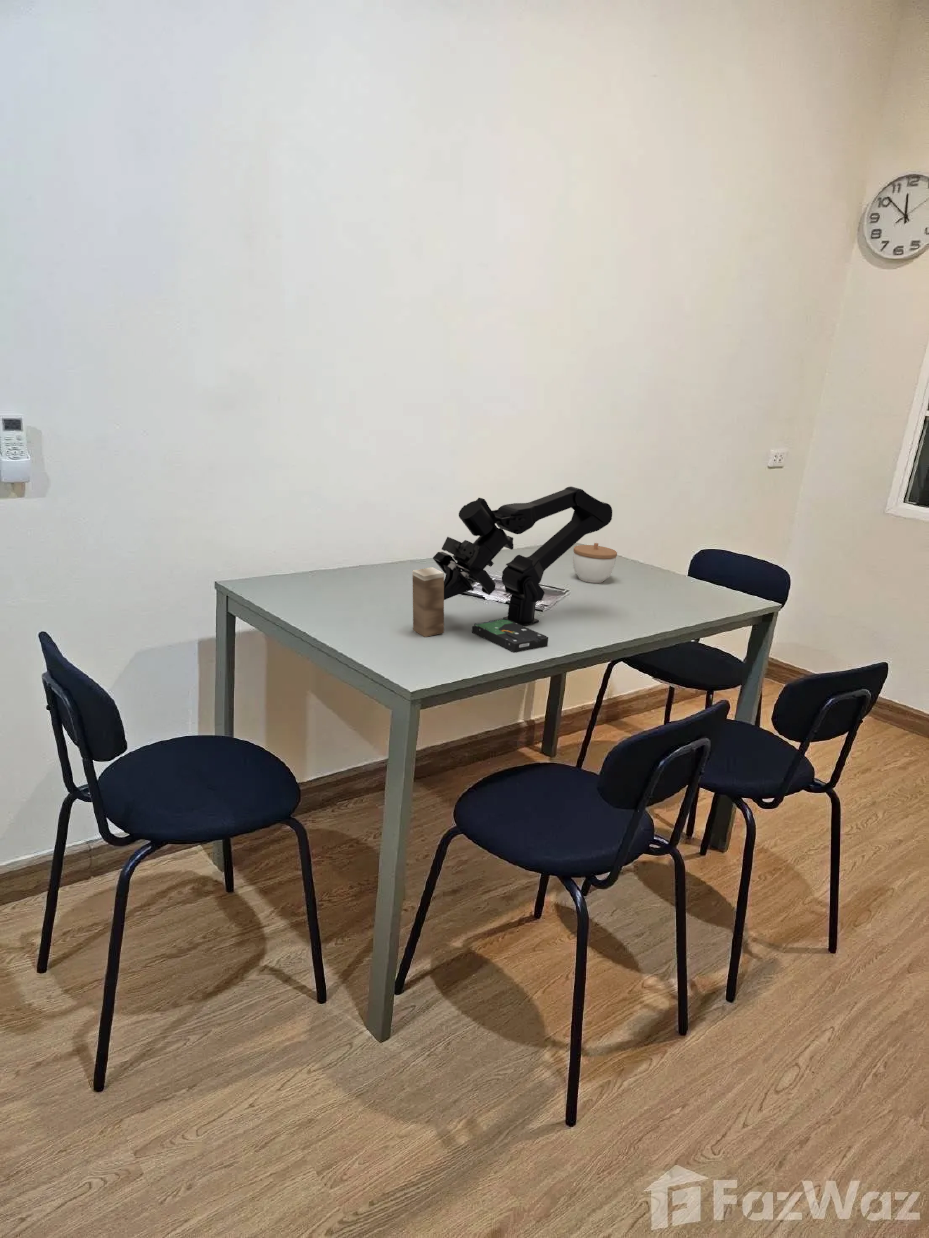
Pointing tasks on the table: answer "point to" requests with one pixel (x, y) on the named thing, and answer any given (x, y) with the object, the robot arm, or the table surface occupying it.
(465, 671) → the table surface
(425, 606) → the walnut block
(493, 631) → the disk drive
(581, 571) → the lidded bowl
